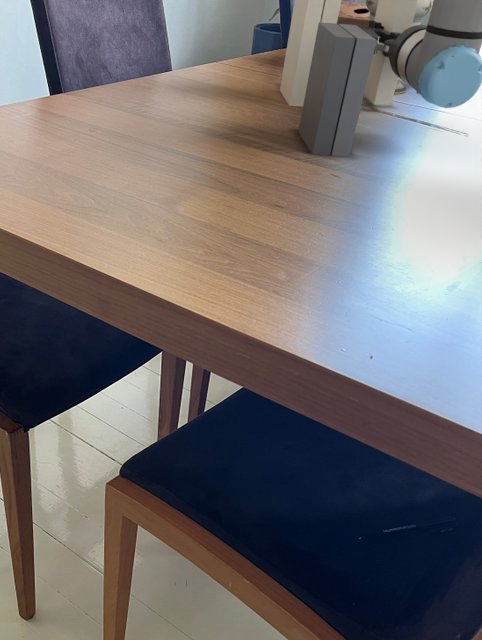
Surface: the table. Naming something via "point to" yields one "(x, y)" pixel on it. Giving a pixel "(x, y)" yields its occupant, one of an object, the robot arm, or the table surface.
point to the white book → (381, 82)
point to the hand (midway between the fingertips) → (380, 30)
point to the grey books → (335, 88)
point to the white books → (304, 45)
